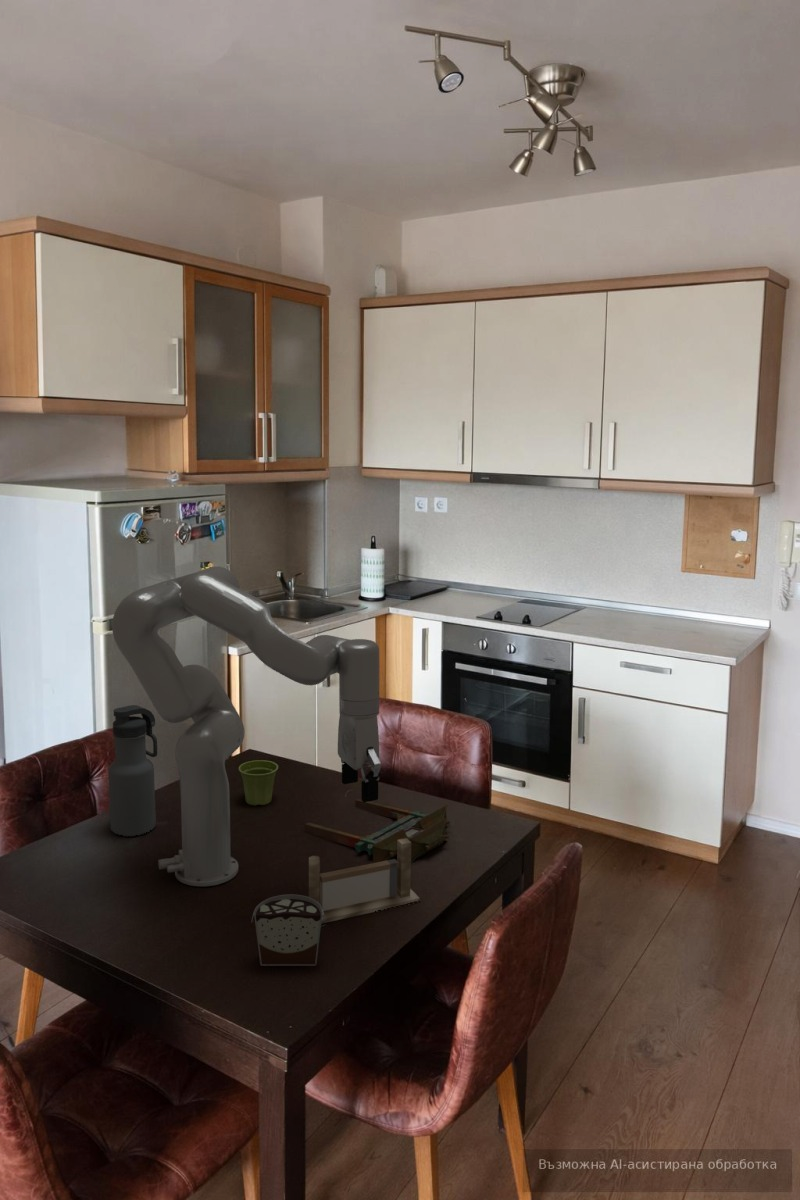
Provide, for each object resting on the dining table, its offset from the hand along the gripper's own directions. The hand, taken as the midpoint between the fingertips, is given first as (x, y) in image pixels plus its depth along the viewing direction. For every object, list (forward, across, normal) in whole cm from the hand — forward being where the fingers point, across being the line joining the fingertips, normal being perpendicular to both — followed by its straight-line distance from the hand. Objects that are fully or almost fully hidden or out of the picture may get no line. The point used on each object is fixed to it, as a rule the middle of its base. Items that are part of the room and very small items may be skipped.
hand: (359, 791), depth 176 cm
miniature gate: (+21, -21, +15) cm, 34 cm away
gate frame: (+21, +5, -3) cm, 22 cm away
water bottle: (+20, -47, -35) cm, 62 cm away
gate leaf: (+19, +5, -3) cm, 20 cm away
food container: (+21, +15, -20) cm, 33 cm away
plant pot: (+20, -50, -5) cm, 55 cm away
